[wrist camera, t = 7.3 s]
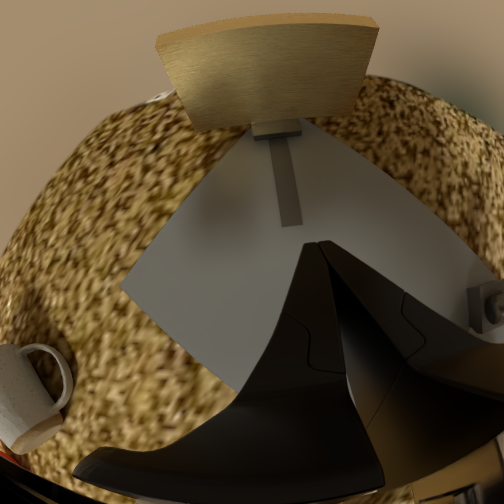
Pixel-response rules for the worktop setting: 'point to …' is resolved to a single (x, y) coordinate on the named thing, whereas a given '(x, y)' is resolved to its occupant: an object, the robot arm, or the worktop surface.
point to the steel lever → (495, 308)
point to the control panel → (294, 248)
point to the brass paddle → (269, 69)
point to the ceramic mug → (28, 399)
